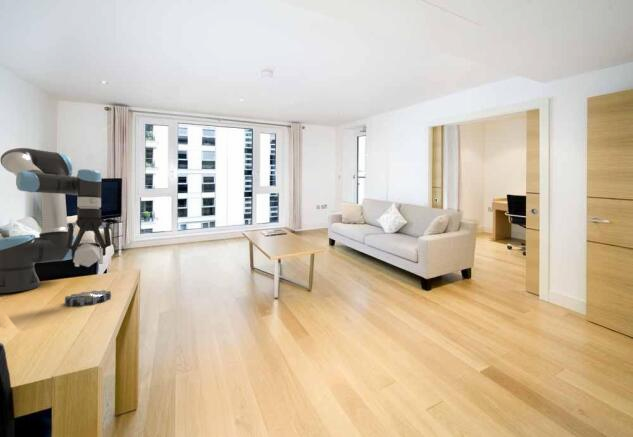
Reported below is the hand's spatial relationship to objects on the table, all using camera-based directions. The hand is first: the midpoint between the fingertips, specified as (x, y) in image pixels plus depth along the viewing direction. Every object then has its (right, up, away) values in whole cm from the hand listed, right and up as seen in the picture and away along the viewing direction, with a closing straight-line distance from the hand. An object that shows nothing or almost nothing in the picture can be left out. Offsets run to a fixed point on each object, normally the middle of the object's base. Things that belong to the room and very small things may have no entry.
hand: (89, 264), depth 114 cm
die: (0, -1, 0) cm, 1 cm away
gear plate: (0, -15, 0) cm, 15 cm away
